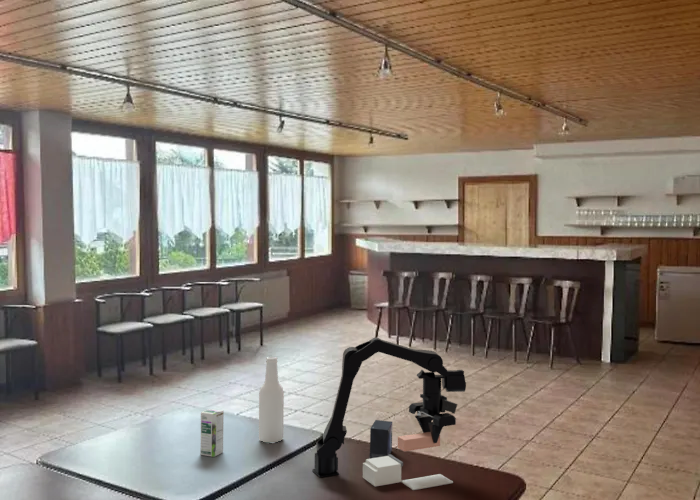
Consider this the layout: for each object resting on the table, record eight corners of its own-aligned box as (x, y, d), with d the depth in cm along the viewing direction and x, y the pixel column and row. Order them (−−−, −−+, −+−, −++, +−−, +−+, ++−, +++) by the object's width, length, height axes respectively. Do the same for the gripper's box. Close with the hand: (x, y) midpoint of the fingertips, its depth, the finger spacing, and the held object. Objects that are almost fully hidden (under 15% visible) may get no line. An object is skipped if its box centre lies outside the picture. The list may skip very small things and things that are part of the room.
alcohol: (255, 442, 235) (255, 359, 235) (263, 435, 244) (264, 354, 243) (278, 444, 233) (279, 360, 233) (286, 437, 242) (287, 355, 241)
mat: (413, 490, 193) (413, 488, 193) (401, 481, 200) (401, 480, 200) (453, 482, 199) (453, 481, 199) (440, 475, 206) (440, 473, 206)
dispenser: (374, 486, 196) (375, 466, 196) (362, 477, 203) (362, 458, 203) (402, 481, 200) (403, 462, 200) (390, 472, 207) (390, 454, 207)
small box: (388, 461, 218) (388, 429, 218) (369, 459, 219) (369, 428, 219) (392, 450, 229) (393, 420, 228) (374, 449, 230) (374, 419, 230)
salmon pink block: (404, 451, 202) (404, 440, 202) (397, 447, 206) (397, 436, 206) (440, 445, 208) (440, 434, 208) (433, 442, 211) (433, 431, 211)
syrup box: (199, 455, 222) (199, 412, 221) (209, 449, 227) (209, 408, 227) (214, 457, 220) (214, 414, 219) (223, 452, 225) (224, 409, 225)
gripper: (470, 396, 203) (470, 446, 204) (437, 383, 220) (436, 429, 221) (440, 399, 199) (439, 451, 199) (408, 386, 215) (407, 434, 216)
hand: (431, 441), depth 209 cm, fingers closed on salmon pink block, 4 cm apart
